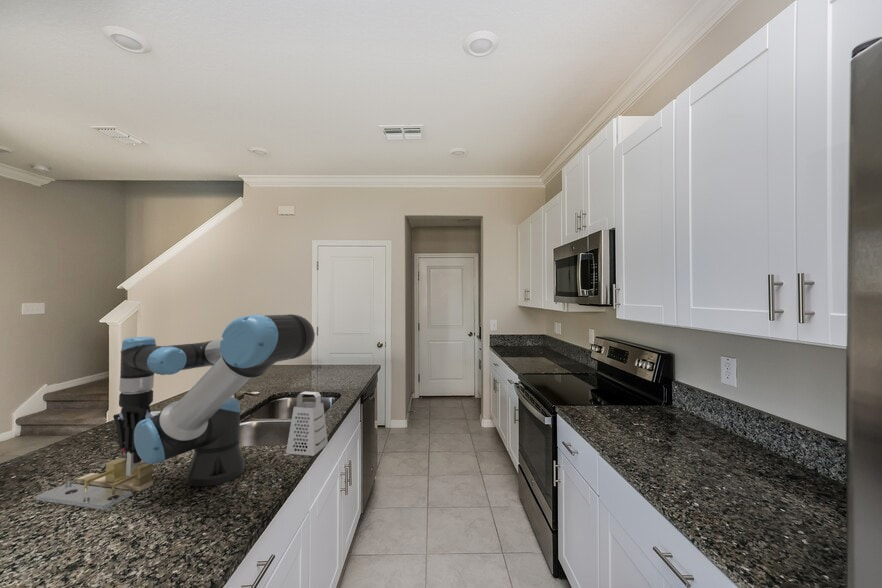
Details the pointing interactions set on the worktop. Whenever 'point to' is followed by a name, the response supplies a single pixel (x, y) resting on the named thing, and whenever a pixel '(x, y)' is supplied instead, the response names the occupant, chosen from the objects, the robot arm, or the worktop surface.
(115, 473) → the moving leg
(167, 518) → the worktop surface
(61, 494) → the bolt plate
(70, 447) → the worktop surface
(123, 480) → the rail
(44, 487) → the worktop surface
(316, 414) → the grater
